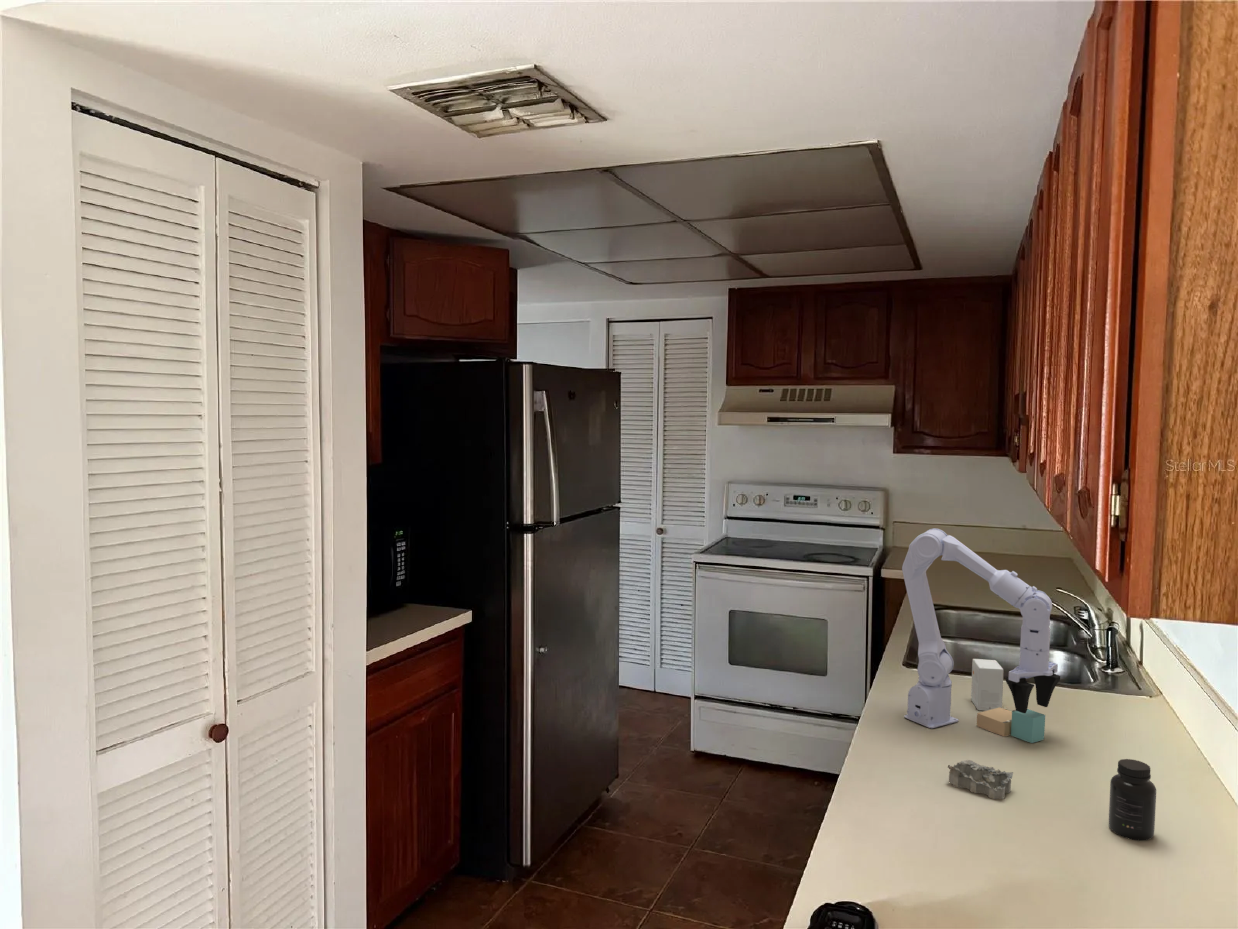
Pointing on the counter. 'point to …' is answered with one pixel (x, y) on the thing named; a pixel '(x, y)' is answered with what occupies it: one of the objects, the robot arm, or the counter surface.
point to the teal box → (1028, 725)
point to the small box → (987, 684)
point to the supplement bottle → (1132, 801)
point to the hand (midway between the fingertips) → (1031, 708)
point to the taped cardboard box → (996, 721)
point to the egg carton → (980, 779)
